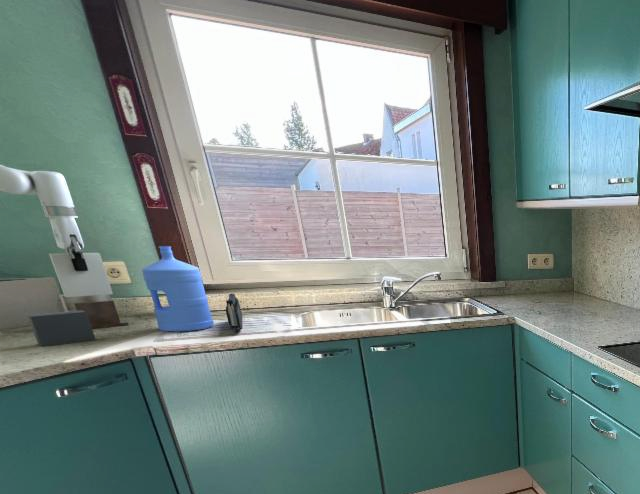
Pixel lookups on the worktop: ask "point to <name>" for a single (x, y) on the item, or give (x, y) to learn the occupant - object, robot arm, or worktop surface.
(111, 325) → the book rack
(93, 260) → the white book
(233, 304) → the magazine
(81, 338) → the dark grey rectangular block
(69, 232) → the robot arm
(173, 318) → the water jug
